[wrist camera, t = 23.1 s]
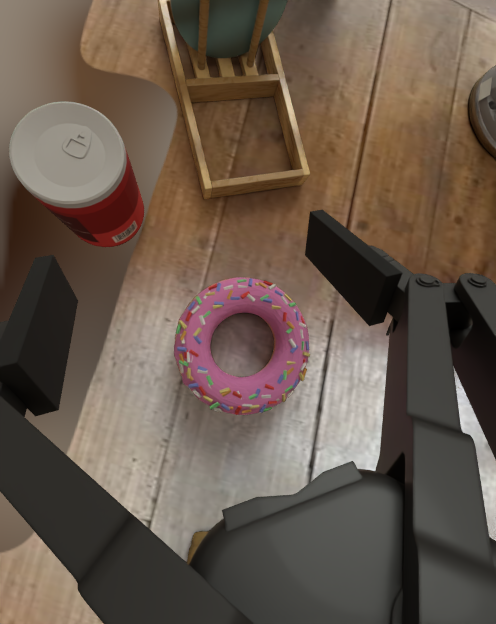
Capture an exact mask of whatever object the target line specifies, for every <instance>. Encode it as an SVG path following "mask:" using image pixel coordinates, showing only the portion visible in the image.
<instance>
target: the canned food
mask: <svg viewBox="0 0 496 624" xmlns="http://www.w3.org/2000/svg"><path fill="white" fill-rule="evenodd" d="M9 153H10V154H9V156H10V161H11V165H12V168H13V169H14V172H15V174H16V176H17V177H18V179H19V180H20V181H21V183H22V184H23V185H24V186H25V188H26V189H27V190H28V191H29V192H30V193H31V194H32V195H33V196H34V197H35V198H36V199H37V200H39V201H40V202H41V203H42V204H43V205H44V206H45V207H46V208H47V209H48V210H50V211H51V212H52V213H53V214H54V215H55V216H56V217H57V218H58V219H59V220H61V221H62V222H63V223H64V224H65V225H67V227H68V228H69V229H71V230H72V231H73V232H74V233H75V234H76V235H77V236H78V237H80V238H81V239H82V240H84V241H85V242H87V243H90V244H92V245H95V246H101V247H113V246H118V245H121V244H123V243H126V242H127V241H129V240H130V239H131V238H132V237H133V236H134V235H135V234H136V233H137V232H138V230H139V229H140V227H141V224H142V221H143V217H144V205H143V201H142V198H141V194H140V191H139V188H138V185H137V182H136V179H135V176H134V173H133V170H132V166H131V163H130V161H129V157H128V154H127V151H126V149H125V146H124V143H123V141H122V139H121V137H120V135H119V133H118V131H117V129H116V128H115V127H114V125H113V124H112V123H111V121H110V120H108V119H107V118H106V117H105V116H104V115H103V114H101V113H100V112H98V111H97V110H95V109H93V108H90V107H88V106H86V105H83V104H78V103H74V102H55V103H49V104H46V105H43V106H40V107H38V108H36V109H34V110H32V111H31V112H29V113H28V114H27V115H26V116H25V117H23V118H22V120H21V121H20V122H19V123H18V125H17V126H16V128H15V130H14V132H13V134H12V136H11V141H10V145H9Z"/></svg>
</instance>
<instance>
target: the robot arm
mask: <svg viewBox="0 0 496 624" xmlns="http://www.w3.org/2000/svg"><path fill="white" fill-rule="evenodd" d="M469 113H470V119H471V123H472V126H473V129H474V131H475V134H476V136H477V137H478V139H479V141H480V142H481V144H482V145H483V146H484V148H485V149H486V150H487V151H488V152H489V153H490V154H491V155H492V156H494V157H495V158H496V66H494V67H492V68H491V69H490V70H489V71H488V72H487V73H485V74H484V75H483V76H482V77H481V78H480V79H479V80H478V81H477V82H476V84H475V85H474V87H473V89H472V92H471V95H470V101H469ZM305 255H306V257H307V258H308V259H309V260H310V261H311V262H312V263H313V264H314V265H315V266H316V268H317V269H318V270H319V271H320V272H321V273H322V274H323V275H324V276H325V278H326V279H327V280H328V281H329V282H330V283H331V284H332V285H333V286H334V288H335V289H336V290H337V291H338V292H339V293H340V294H341V295H342V296H343V298H344V299H345V300H346V301H347V302H348V303H349V304H350V305H351V306H352V307H353V309H354V310H355V311H356V312H357V313H358V314H359V315H360V316H361V317H362V319H363V320H364V321H365V322H366V323H367V324H368V325H369V326H371V325H375V324H379V323H382V322H384V320H385V317H386V315H387V312H388V313H389V314H390V315H391V316H392V317H393V319H392V321H391V323H390V326H389V328H388V331H387V333H386V335H389V333H390V336H389V348H388V361H387V373H386V386H385V398H384V410H383V423H382V435H381V448H380V456H379V460H378V463H377V467H376V471H371V470H364V469H357V467H356V465H355V464H354V462H353V461H351V462H349V463H346V464H343V465H341V466H338V467H335V468H333V469H330V470H327V471H325V472H323V473H321V474H320V475H319V476H318V477H316V478H315V479H314V480H313V481H311V482H310V483H309V484H308V485H306V486H305V487H304V488H303V489H301V490H300V491H299V492H298V493H296V494H293V495H283V496H267V497H256V498H253V499H250V500H248V501H245V502H242V503H240V504H237V505H234V506H232V507H229V508H226V509H224V510H222V512H223V517H224V519H222V520H221V521H220V522H218V523H217V524H216V525H215V526H214V527H213V528H212V529H211V530H210V531H209V532H208V533H207V534H206V536H205V537H204V538H203V540H202V541H201V543H200V544H199V546H198V547H197V549H196V551H195V553H194V555H193V557H192V559H191V561H190V563H189V565H188V564H187V563H186V562H185V561H184V560H183V559H182V558H181V557H180V556H178V555H177V554H176V553H175V552H174V551H173V550H172V549H171V548H170V547H168V546H167V545H166V544H165V543H164V542H163V541H162V540H161V539H160V538H158V537H157V536H156V535H155V534H154V533H153V532H152V531H151V530H150V529H148V528H147V527H146V526H145V525H144V524H143V523H142V522H141V521H139V520H138V519H137V518H136V517H135V516H134V515H132V514H131V513H130V512H129V511H128V510H127V509H126V508H124V507H123V506H122V505H121V504H120V503H119V502H118V501H117V500H116V499H114V498H113V497H112V496H111V495H110V494H109V493H108V492H107V491H106V490H104V489H103V488H102V487H101V486H100V485H99V484H98V483H97V482H96V481H94V480H93V479H92V478H91V477H90V476H89V475H88V474H87V473H86V472H84V471H83V470H82V469H81V468H80V467H79V466H78V465H77V464H76V463H74V462H73V461H72V460H71V459H70V458H69V457H68V456H67V455H65V454H64V453H63V452H62V451H61V450H60V449H59V448H58V447H57V446H55V445H54V444H53V443H52V442H51V441H50V440H49V439H48V438H47V437H46V436H44V435H43V434H42V433H41V432H40V431H39V430H38V429H37V428H36V427H34V426H33V425H32V424H31V423H30V422H29V421H28V420H27V419H26V418H24V417H25V413H26V409H29V410H30V411H31V412H32V413H33V414H34V415H35V416H38V415H42V414H45V413H49V412H53V411H56V410H59V404H60V398H61V393H62V388H63V382H64V376H65V370H66V364H67V359H68V353H69V348H70V343H71V337H72V331H73V326H74V320H75V314H76V309H77V303H78V300H77V298H76V296H75V294H74V292H73V290H72V289H71V287H70V285H69V283H68V281H67V280H66V277H65V276H64V274H63V272H62V270H61V268H60V266H59V265H58V263H57V261H56V259H55V257H54V255H50V256H44V257H38V258H35V260H34V262H33V264H32V267H31V269H30V271H29V274H28V276H27V278H26V281H25V283H24V286H23V288H22V290H21V293H20V295H19V297H18V300H17V302H16V304H15V307H14V309H13V311H12V314H11V316H10V319H9V321H4V322H0V492H1V493H2V494H3V495H4V496H5V497H6V499H7V500H8V501H9V502H10V503H11V504H12V506H13V507H14V508H15V509H16V510H17V511H18V513H19V514H20V515H21V516H22V517H23V518H24V519H25V520H26V522H27V523H28V524H29V525H30V526H31V527H32V529H33V530H34V531H35V532H36V533H37V535H38V536H39V537H40V538H41V539H42V540H43V542H44V543H45V544H46V545H47V546H48V547H49V549H50V550H51V551H52V552H53V553H54V554H55V556H56V557H57V558H58V559H59V560H60V561H61V563H62V564H63V565H64V566H65V567H66V568H67V570H68V571H69V572H70V573H71V574H72V575H73V577H74V578H75V579H76V581H77V583H78V591H79V592H80V594H81V596H82V597H83V599H84V600H85V601H86V603H87V604H88V605H89V606H90V608H91V609H92V610H93V611H94V612H95V614H96V615H97V616H98V617H99V618H100V620H101V621H102V622H103V623H104V624H496V541H495V540H493V539H492V538H490V537H489V533H488V526H487V520H486V513H485V507H484V500H483V494H482V487H481V481H480V474H479V468H478V461H477V455H476V448H475V444H474V441H473V439H472V437H471V436H470V435H468V434H465V433H463V432H462V430H461V426H460V418H459V409H458V401H457V393H456V385H455V377H454V369H453V366H454V368H455V371H456V373H457V375H458V377H459V379H460V382H461V384H462V386H463V388H464V390H465V393H466V395H467V397H468V399H469V402H470V404H471V406H472V408H473V410H474V413H475V415H476V417H477V419H478V422H479V424H480V426H481V428H482V430H483V433H484V435H485V437H486V439H487V441H488V444H489V446H490V448H491V450H492V453H493V455H494V457H495V459H496V285H495V283H494V282H493V281H491V280H490V279H488V278H486V277H485V276H483V275H480V274H473V273H465V274H462V275H461V276H460V277H459V279H458V281H457V283H442V282H441V281H440V280H438V279H437V278H435V277H433V276H430V275H427V274H413V273H412V272H410V271H409V270H408V269H406V268H405V267H404V266H402V265H401V264H400V263H398V262H397V261H395V260H394V259H393V258H392V257H390V256H389V255H388V254H387V253H385V252H384V251H383V250H381V249H379V248H376V247H374V246H368V245H367V244H366V243H364V242H363V241H362V240H360V239H359V238H358V237H357V236H355V235H354V234H353V233H352V232H350V231H349V230H348V229H346V228H345V227H344V226H343V225H341V224H340V223H339V222H338V221H336V220H335V219H334V218H332V217H331V216H330V215H329V214H327V213H326V212H325V211H323V210H318V211H312V212H310V217H309V226H308V234H307V243H306V251H305Z"/></svg>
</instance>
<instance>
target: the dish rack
mask: <svg viewBox="0 0 496 624" xmlns="http://www.w3.org/2000/svg"><path fill="white" fill-rule="evenodd" d="M286 3H287V0H158V8H159V19H160V23H161V27H162V31H163V35H164V39H165V43H166V47H167V51H168V55H169V59H170V63H171V67H172V72H173V76H174V80H175V84H176V88H177V92H178V96H179V100H180V104H181V108H182V112H183V116H184V120H185V124H186V129H187V133H188V137H189V141H190V145H191V149H192V153H193V157H194V161H195V165H196V169H197V173H198V177H199V181H200V186H201V190H202V194H203V198H204V199H210V198H216V197H223V196H230V195H237V194H243V193H250V192H257V191H264V190H271V189H277V188H284V187H291V186H296V185H297V186H298V185H302V184H303V183H304V182H305V180H306V179H307V178H308V176H309V175H310V172H309V168H308V164H307V160H306V156H305V153H304V149H303V145H302V141H301V137H300V133H299V129H298V126H297V122H296V118H295V114H294V110H293V106H292V102H291V98H290V95H289V91H288V87H287V83H286V79H285V75H284V71H283V68H282V64H281V60H280V56H279V52H278V48H277V44H276V41H275V37H274V33H273V29H274V28H275V27H276V25H277V23H278V22H279V20H280V18H281V16H282V14H283V12H284V9H285V6H286ZM172 24H176V27H177V29H178V31H179V33H180V35H181V36H182V37H183V39H184V40H185V41H186V42H187V46H188V50H189V55H190V59H191V63H192V67H193V71H194V75H195V79H186V80H185V76H184V72H183V68H182V64H181V60H180V56H179V52H178V48H177V43H176V39H175V35H174V31H173V27H172ZM259 44H260V45H261V49H262V53H263V57H264V61H265V65H266V69H267V73H268V75H258V71H257V67H256V63H255V57H256V53H257V49H258V45H259ZM206 56H209V57H213V58H215V60H216V64H217V68H218V72H219V76H220V77H215V78H211V77H210V73H209V69H208V65H207V61H206ZM236 56H238V57H239V61H240V65H241V69H242V73H243V76H235V74H234V71H233V67H232V63H231V59H230V58H231V57H236ZM273 96H274V100H275V104H276V108H277V112H278V116H279V119H280V123H281V127H282V131H283V135H284V139H285V143H286V147H287V151H288V154H289V158H290V162H291V166H292V170H291V171H284V172H277V173H269V174H262V175H254V176H247V177H240V178H232V179H225V180H217V181H210V177H209V173H208V169H207V165H206V161H205V157H204V153H203V149H202V145H201V141H200V137H199V133H198V129H197V124H196V120H195V116H194V112H193V108H192V104H191V103H194V102H207V101H221V100H234V99H247V98H261V97H273Z"/></svg>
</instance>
